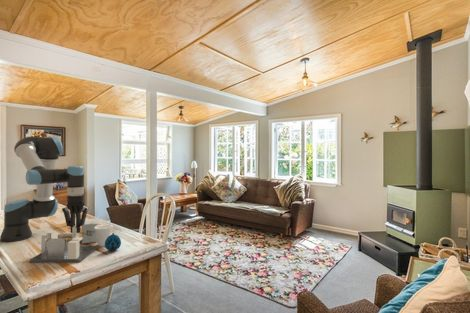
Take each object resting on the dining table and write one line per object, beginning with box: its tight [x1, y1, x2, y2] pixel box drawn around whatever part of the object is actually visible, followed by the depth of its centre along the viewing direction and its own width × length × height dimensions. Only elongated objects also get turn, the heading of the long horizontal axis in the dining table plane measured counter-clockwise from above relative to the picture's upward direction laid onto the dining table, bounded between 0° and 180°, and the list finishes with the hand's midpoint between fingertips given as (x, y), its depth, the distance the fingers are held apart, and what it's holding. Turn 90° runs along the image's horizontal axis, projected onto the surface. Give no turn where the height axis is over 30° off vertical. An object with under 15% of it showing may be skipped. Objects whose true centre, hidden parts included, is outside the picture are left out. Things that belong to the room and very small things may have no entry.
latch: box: [68, 236, 83, 259], centre depth 131 cm, size 4×6×9 cm, turn 4°
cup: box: [94, 223, 113, 247], centre depth 152 cm, size 10×10×11 cm
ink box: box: [81, 219, 99, 245], centre depth 158 cm, size 9×9×12 cm
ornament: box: [104, 232, 122, 252], centre depth 144 cm, size 8×5×10 cm, turn 114°
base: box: [29, 232, 98, 263], centre depth 136 cm, size 24×18×11 cm
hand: (75, 238), depth 136 cm, fingers closed, pressing on strap
